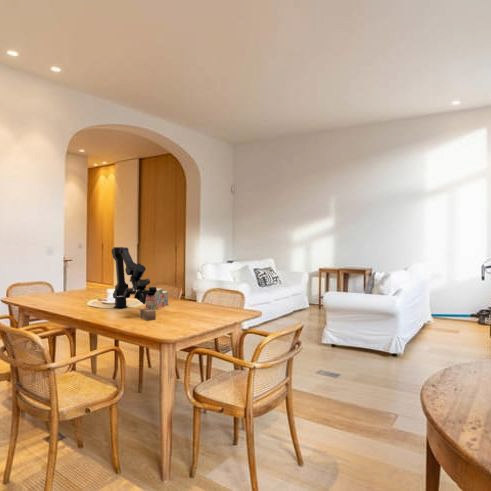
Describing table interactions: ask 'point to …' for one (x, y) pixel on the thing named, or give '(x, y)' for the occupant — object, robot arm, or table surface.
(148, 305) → the stack of blocks
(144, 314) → the walnut block
